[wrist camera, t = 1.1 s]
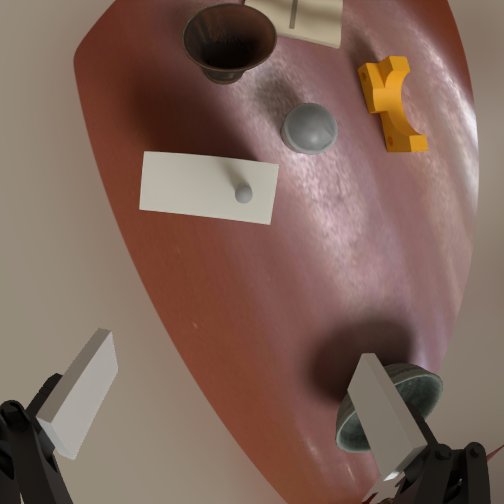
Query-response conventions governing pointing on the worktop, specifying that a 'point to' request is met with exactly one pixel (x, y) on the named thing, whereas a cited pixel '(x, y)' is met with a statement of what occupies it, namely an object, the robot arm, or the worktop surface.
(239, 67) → the cup
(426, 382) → the bowl
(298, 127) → the grey knob
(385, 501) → the kendama
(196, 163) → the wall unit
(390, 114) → the yellow shaft support bracket
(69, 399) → the robot arm
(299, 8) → the board
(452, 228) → the worktop surface
